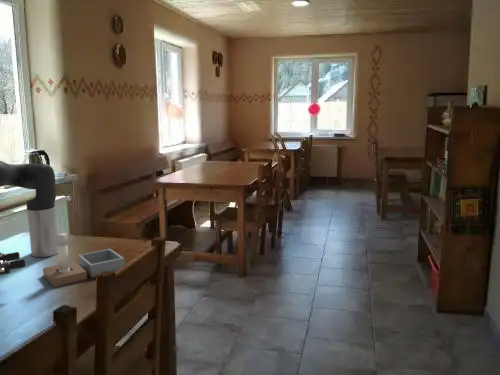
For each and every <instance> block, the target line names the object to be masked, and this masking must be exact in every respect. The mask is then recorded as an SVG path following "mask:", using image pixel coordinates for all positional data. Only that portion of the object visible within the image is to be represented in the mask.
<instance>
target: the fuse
mask: <svg viewBox="0 0 500 375" xmlns="http://www.w3.org/2000/svg"><path fill="white" fill-rule="evenodd" d="M55 238H56V245H57V252H58V253H57V260H58V265H59V269H58V270H59V273H63V272H68V271H70V267H69V263H70V262H69V250H68V249H69V248H68V244H69V240H68V233H67V232H60V233H59V232H58V233H57V234H56V235H55Z"/></svg>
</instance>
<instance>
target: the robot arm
mask: <svg viewBox="0 0 500 375" xmlns="http://www.w3.org/2000/svg"><path fill="white" fill-rule="evenodd" d="M5 186H11V187H18V188H22V189H27V190H35V196H34V197H33V198H31V199H29V200H27V201H26V204H25V205H26V214H27V223H28V231H29V232H28V233H29V243H30V251H31V256H32V257H34V258H46V257H51V256H55V255H58V252H57V245H56V238H55V235H56V234H58V226H57V217H56V214H57V213H56V207H55V203H56V200H57V199H56V198H57V188H56V173H55V171H54V168H53V167H52V166H51V165H50V164H47V163H20V164H19V163H18V164H13V163H12V164H11V163H7V162H5V161H2V160H0V188H1V187H5ZM25 267H26V260H25V259H20V252H19V251H16V252H10V253H2V252H0V276H1V275H7V274H10V273H11V271H12V270H17V269H20V268H25Z"/></svg>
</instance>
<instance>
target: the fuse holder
mask: <svg viewBox="0 0 500 375" xmlns="http://www.w3.org/2000/svg"><path fill="white" fill-rule="evenodd" d="M69 267H70V271H68V272H63V273H59V270H58V269H59V264H57V265H50V266H46V267H43V268H42V274H43V277H44V278H45V279H46V280H47V282H48V283H49V284H50V285H51V286H52V287H53V288H55V287H60V286H63V285H68V284H73V283H76V282H81V281H86V280H88V274H87V272H86V271H85V270H84V269H83V268H82V267H81V266H80V265H79V263H78V262H76V261H71V262H69Z"/></svg>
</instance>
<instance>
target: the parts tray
mask: <svg viewBox="0 0 500 375" xmlns="http://www.w3.org/2000/svg"><path fill="white" fill-rule="evenodd" d="M77 257H78V258H77V260H78V264H79V265H80V266H81V267H82V268H83V269H84V270H85V271H86V272H87V276H89V277H90V278H96V277H97V276H96V275H98V274H99V273H101V272H103V271H116V270H117V269H119V268H120V267H122V266H124V265H125V264H126V263H125V261H126V260H125V257H123V256H122V255H121V254H119V253H118V252H116V251H114V250H113V249H112V248H106V249H102V250H101V249H100V250H96V251H92V252H87V253H83V254H82V253H81V254H78V255H77ZM125 266H126V265H125Z"/></svg>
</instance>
